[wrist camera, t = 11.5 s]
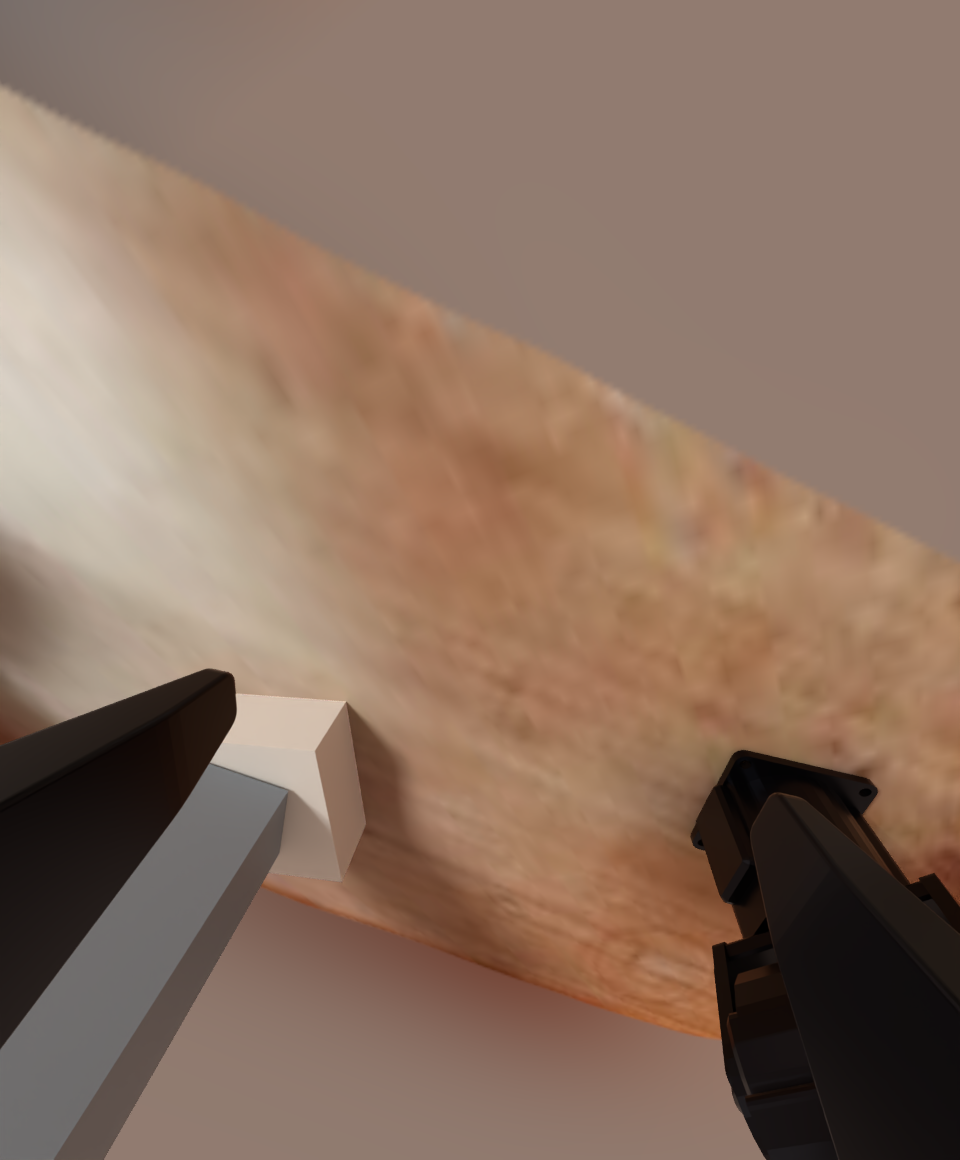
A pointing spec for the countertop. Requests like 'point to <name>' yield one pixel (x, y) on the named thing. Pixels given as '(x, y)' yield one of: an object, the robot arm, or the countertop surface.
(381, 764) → the countertop surface
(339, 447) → the countertop surface
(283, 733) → the cream slab
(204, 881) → the grey column
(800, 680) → the countertop surface
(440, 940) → the countertop surface
